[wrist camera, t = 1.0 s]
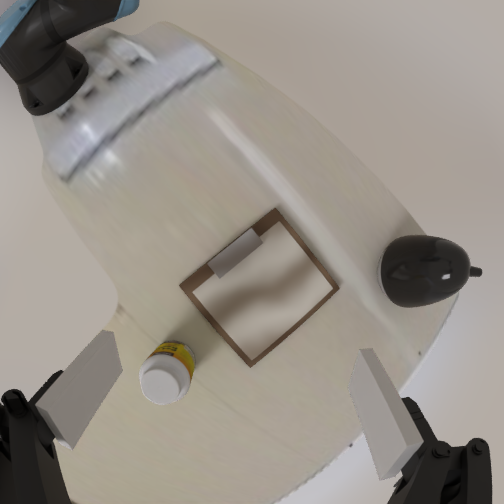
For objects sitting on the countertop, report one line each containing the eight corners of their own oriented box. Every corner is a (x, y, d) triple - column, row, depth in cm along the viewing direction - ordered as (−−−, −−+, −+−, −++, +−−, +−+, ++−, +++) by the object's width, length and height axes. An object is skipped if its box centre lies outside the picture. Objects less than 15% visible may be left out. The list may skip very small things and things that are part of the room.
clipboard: (179, 285, 34) (177, 285, 32) (274, 208, 36) (277, 205, 35) (249, 366, 34) (251, 370, 32) (337, 288, 36) (343, 288, 35)
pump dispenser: (413, 308, 38) (484, 313, 23) (363, 302, 36) (435, 310, 22) (418, 246, 39) (487, 232, 24) (370, 234, 38) (440, 210, 23)
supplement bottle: (185, 333, 33) (172, 353, 23) (202, 371, 33) (198, 403, 23) (147, 347, 32) (122, 370, 22) (165, 383, 32) (148, 417, 22)
